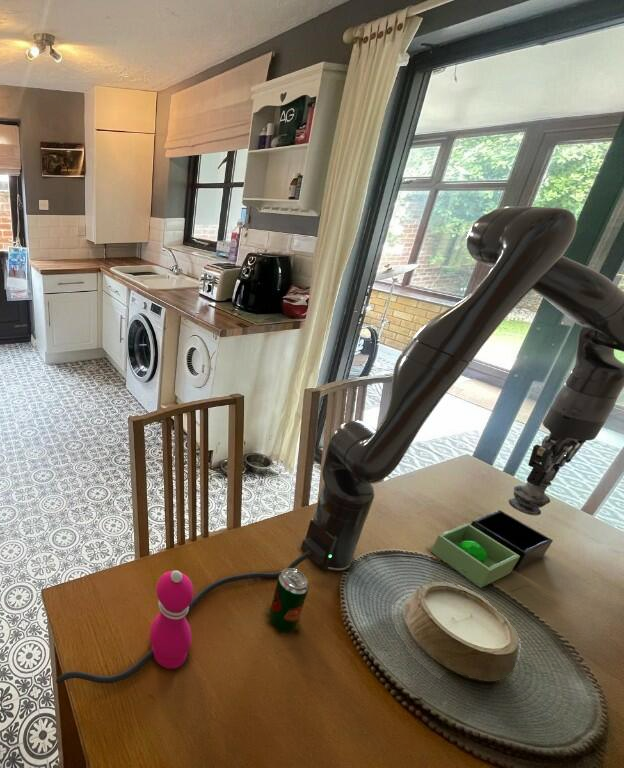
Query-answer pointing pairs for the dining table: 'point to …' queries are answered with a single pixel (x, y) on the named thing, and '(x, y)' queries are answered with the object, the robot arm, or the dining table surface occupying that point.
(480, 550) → the polyhedron
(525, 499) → the grey figurine
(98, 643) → the dining table surface
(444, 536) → the green bin
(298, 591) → the soda can
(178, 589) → the pepper mill
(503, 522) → the charcoal bin
